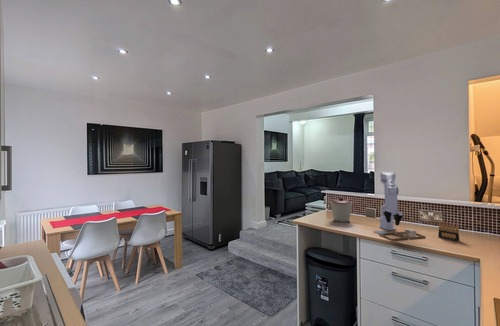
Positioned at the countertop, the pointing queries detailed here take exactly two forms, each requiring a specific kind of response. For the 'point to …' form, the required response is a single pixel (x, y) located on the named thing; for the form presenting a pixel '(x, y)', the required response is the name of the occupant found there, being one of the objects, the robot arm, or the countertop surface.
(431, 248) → the countertop surface
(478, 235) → the countertop surface
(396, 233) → the tray far
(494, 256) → the countertop surface
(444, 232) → the ammunition clip
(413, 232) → the cube
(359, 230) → the countertop surface
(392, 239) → the tray near
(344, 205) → the canister
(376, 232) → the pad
